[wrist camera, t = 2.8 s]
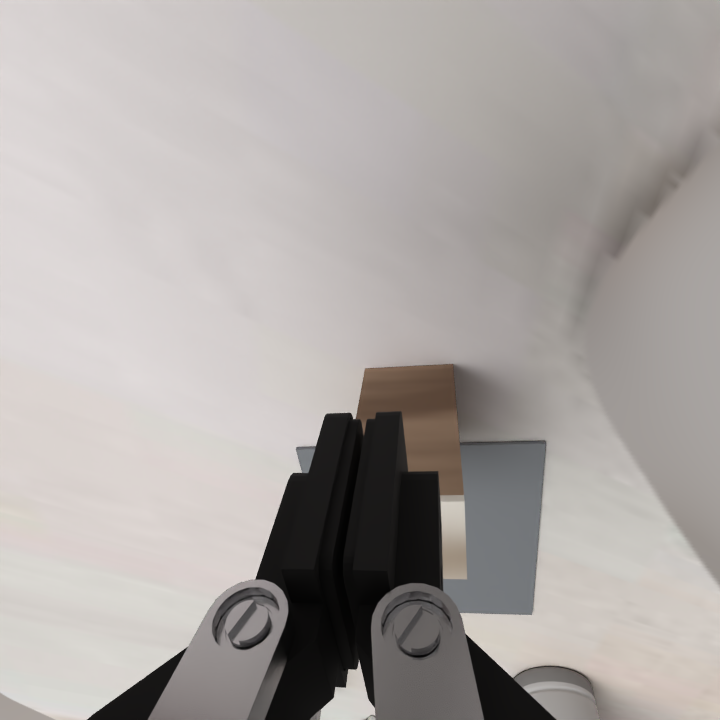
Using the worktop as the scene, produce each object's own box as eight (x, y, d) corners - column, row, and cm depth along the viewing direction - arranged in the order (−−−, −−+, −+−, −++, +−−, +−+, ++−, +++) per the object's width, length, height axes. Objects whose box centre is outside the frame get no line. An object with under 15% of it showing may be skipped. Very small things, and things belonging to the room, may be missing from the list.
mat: (296, 447, 30) (296, 449, 29) (545, 441, 27) (545, 443, 27) (338, 606, 38) (338, 609, 38) (531, 612, 36) (532, 614, 35)
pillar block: (365, 368, 26) (340, 502, 19) (452, 364, 25) (464, 501, 18) (375, 434, 28) (356, 577, 21) (455, 432, 28) (467, 579, 20)
